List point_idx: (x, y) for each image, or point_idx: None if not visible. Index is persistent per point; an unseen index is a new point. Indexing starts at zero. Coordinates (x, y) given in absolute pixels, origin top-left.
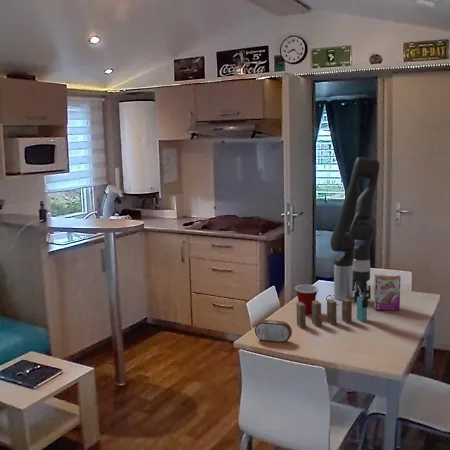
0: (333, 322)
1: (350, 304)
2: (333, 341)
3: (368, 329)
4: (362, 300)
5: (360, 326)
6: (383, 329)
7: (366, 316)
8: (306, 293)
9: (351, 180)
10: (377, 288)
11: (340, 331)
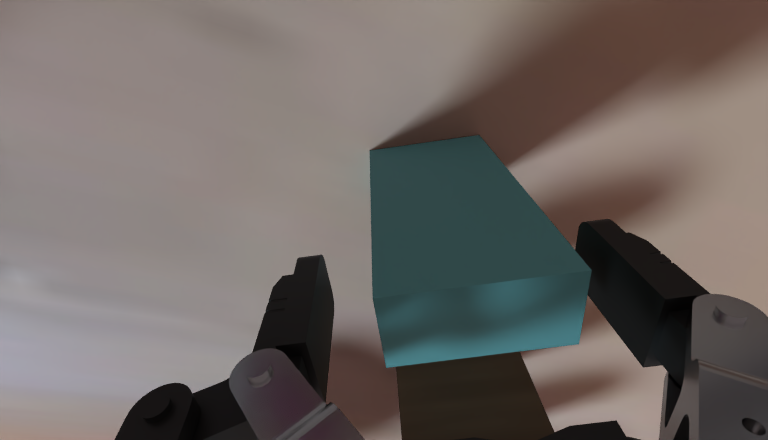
0: None
1: (540, 411)
2: None
3: (672, 178)
4: (638, 352)
5: (578, 218)
6: (749, 41)
7: (494, 155)
8: None
9: None
10: None
11: (611, 350)
